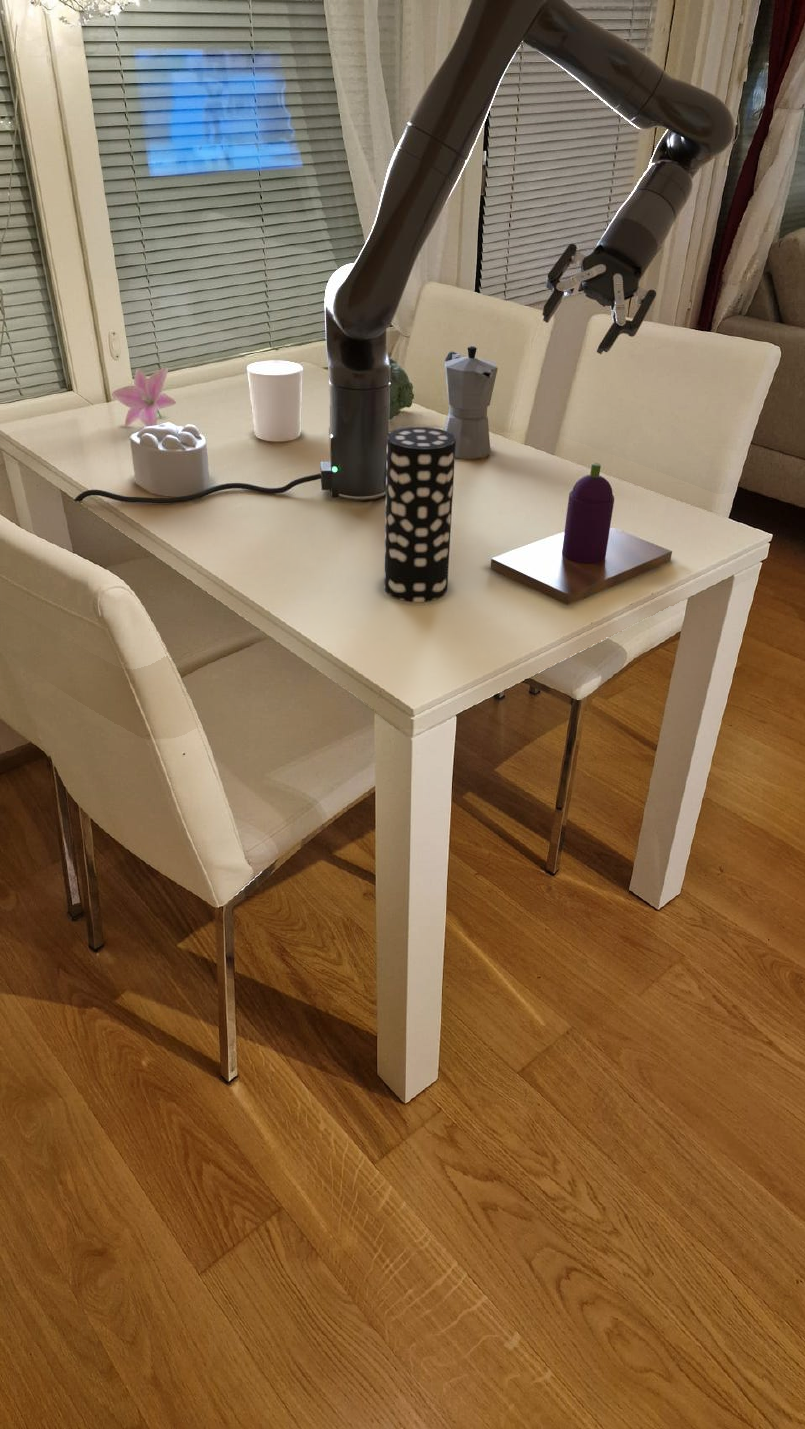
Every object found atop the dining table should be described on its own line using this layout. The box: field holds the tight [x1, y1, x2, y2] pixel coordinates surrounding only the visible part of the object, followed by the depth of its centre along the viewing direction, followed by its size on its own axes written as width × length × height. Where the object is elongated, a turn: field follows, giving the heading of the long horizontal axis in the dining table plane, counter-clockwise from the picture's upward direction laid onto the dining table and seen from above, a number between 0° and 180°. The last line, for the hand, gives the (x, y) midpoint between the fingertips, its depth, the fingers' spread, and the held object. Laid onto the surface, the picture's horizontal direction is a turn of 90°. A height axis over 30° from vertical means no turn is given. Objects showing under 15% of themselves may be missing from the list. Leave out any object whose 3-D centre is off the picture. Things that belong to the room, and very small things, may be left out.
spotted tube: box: [383, 426, 456, 603], centre depth 124 cm, size 8×8×20 cm
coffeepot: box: [443, 345, 498, 460], centre depth 171 cm, size 15×9×18 cm, turn 25°
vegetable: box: [388, 356, 415, 422], centre depth 188 cm, size 12×13×15 cm
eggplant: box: [562, 462, 615, 563], centre depth 132 cm, size 6×6×13 cm
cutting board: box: [490, 526, 673, 606], centre depth 136 cm, size 22×14×2 cm, turn 131°
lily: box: [111, 366, 177, 427], centre depth 182 cm, size 12×12×10 cm
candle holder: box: [246, 360, 304, 443], centre depth 177 cm, size 10×10×12 cm
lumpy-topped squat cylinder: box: [129, 422, 211, 497], centre depth 156 cm, size 10×13×9 cm
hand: (572, 335), depth 133 cm, fingers open, 8 cm apart
